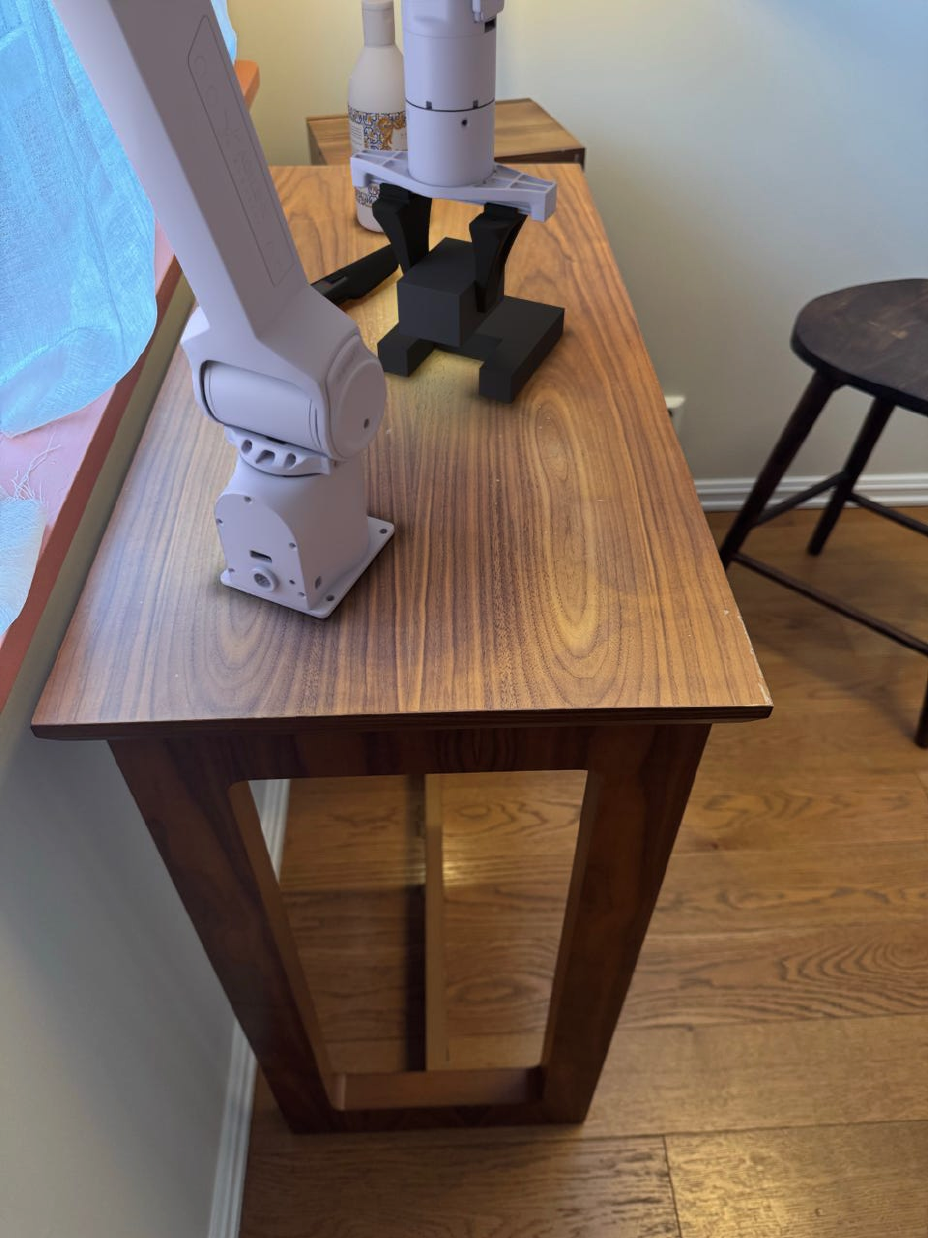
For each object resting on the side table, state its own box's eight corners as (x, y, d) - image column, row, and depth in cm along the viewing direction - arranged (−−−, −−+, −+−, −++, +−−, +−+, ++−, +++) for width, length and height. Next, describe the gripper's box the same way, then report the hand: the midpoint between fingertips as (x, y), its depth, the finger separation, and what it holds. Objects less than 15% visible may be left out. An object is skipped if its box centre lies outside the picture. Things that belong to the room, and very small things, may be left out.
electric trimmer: (410, 279, 88) (409, 247, 86) (296, 343, 79) (291, 309, 77) (381, 268, 90) (379, 236, 87) (266, 330, 81) (260, 296, 79)
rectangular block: (446, 286, 72) (445, 235, 69) (504, 299, 70) (506, 248, 67) (398, 333, 67) (395, 281, 64) (460, 348, 65) (460, 295, 63)
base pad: (510, 403, 73) (511, 376, 71) (378, 370, 77) (376, 343, 75) (563, 334, 80) (565, 307, 79) (441, 306, 84) (440, 280, 82)
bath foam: (387, 240, 93) (372, 12, 79) (344, 220, 97) (323, -3, 82) (436, 220, 97) (431, -2, 82) (393, 201, 100) (381, -16, 86)
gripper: (579, 93, 58) (563, 294, 68) (380, 64, 62) (392, 257, 72) (538, 129, 54) (527, 339, 64) (326, 95, 58) (347, 296, 68)
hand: (452, 298), depth 68 cm, fingers closed on rectangular block, 5 cm apart
